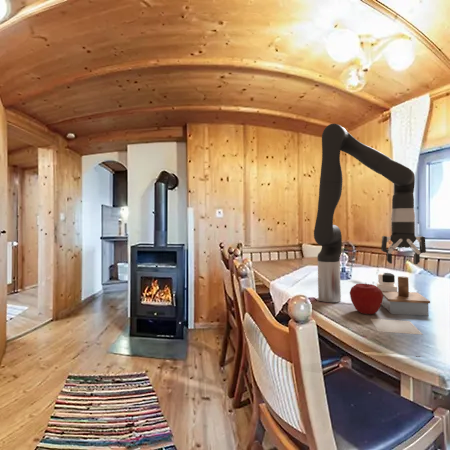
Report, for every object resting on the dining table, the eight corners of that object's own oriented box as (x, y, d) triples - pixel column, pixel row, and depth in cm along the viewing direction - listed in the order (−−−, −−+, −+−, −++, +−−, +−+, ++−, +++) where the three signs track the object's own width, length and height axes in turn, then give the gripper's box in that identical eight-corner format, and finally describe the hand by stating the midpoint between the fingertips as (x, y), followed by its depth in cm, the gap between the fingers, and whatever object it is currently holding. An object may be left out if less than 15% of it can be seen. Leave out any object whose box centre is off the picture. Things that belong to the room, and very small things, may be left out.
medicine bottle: (395, 300, 125) (395, 272, 125) (397, 304, 119) (396, 275, 119) (376, 298, 128) (376, 271, 128) (377, 303, 122) (377, 274, 122)
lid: (388, 301, 106) (388, 279, 106) (380, 293, 118) (380, 273, 118) (430, 303, 102) (429, 281, 102) (417, 294, 114) (416, 274, 114)
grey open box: (390, 314, 106) (390, 301, 106) (382, 305, 117) (382, 293, 117) (428, 317, 102) (428, 302, 102) (416, 307, 114) (416, 294, 114)
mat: (377, 333, 89) (377, 331, 89) (370, 320, 101) (370, 318, 101) (422, 336, 86) (422, 334, 86) (409, 322, 97) (409, 321, 97)
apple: (344, 312, 111) (343, 281, 111) (364, 308, 115) (363, 278, 115) (368, 320, 101) (367, 286, 100) (390, 316, 105) (389, 283, 105)
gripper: (384, 221, 108) (384, 264, 108) (428, 220, 104) (428, 265, 104) (379, 220, 115) (379, 261, 116) (421, 220, 111) (421, 262, 112)
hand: (402, 263), depth 110 cm, fingers open, 8 cm apart
